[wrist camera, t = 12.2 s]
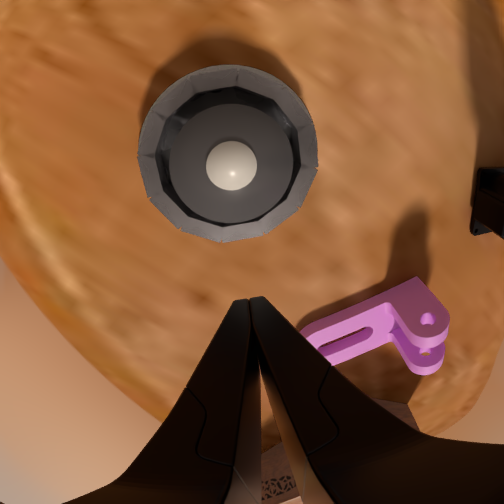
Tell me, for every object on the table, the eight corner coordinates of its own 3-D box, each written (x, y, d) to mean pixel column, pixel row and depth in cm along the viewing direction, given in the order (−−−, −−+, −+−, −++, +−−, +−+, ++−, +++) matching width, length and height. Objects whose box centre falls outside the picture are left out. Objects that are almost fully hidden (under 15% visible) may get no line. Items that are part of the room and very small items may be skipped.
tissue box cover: (302, 470, 45) (311, 512, 37) (239, 465, 41) (243, 514, 32) (406, 402, 36) (430, 453, 28) (347, 391, 32) (372, 460, 23)
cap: (270, 97, 16) (285, 95, 12) (284, 189, 19) (299, 213, 15) (171, 116, 16) (156, 119, 12) (191, 206, 19) (184, 234, 15)
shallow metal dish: (304, 56, 15) (314, 51, 13) (321, 220, 20) (331, 232, 18) (124, 89, 15) (112, 87, 13) (163, 248, 20) (158, 263, 18)
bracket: (416, 275, 24) (457, 323, 18) (417, 315, 26) (450, 362, 20) (285, 331, 25) (301, 395, 19) (301, 365, 28) (317, 423, 22)
